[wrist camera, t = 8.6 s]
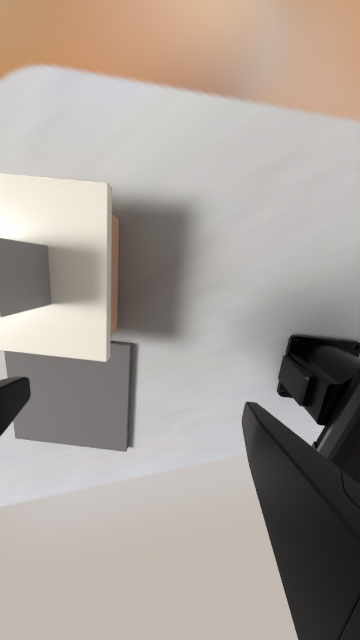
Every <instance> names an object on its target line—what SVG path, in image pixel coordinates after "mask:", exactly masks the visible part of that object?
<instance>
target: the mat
mask: <svg viewBox="0 0 360 640" xmlns="http://www.w3.org/2000/svg"><path fill="white" fill-rule="evenodd" d="M131 347H132V343H123V342H114V341H110V358H109V359H108V360H107V362H103V361H94V360H85V359H76V358H67V357H58V356H49V355H40V354H31V353H22V352H13V351H4V352H5V360H6V368H7V376H8V378H10V377H14V376H25V377H28V378H29V380H30V390H31V396H30V399H29V401H28V402H27V403H26V405H25V406H24V407H23V408H22V410H21V411H20V412H19V414H18V415H17V416H16V417H15V419H14V420H13V422H14V430H15V438H18V439H26V440H34V441H42V442H50V443H59V444H67V445H75V446H83V447H92V448H100V449H108V450H116V451H124V452H126V451H127V448H128V427H129V400H130V374H131Z"/></svg>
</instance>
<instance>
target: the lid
mask: <svg viewBox="0 0 360 640" xmlns="http://www.w3.org/2000/svg"><path fill="white" fill-rule="evenodd" d="M111 242H112V187H111V186H110V185H109V184H108V183H102V182H91V181H79V180H68V179H57V178H45V177H34V176H23V175H11V174H0V350H4V351H13V352H22V353H31V354H40V355H49V356H58V357H67V358H76V359H85V360H94V361H103V362H107V360H108V359H109V358H110V333H111Z"/></svg>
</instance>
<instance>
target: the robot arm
mask: <svg viewBox="0 0 360 640" xmlns="http://www.w3.org/2000/svg"><path fill="white" fill-rule="evenodd" d="M294 339H297V341H296V342H294ZM354 345H356V346H355V347H354ZM353 347H354V348H353ZM359 354H360V343H359V342H357V341H351V340H342V339H332V338H323V337H313V336H303V335H292V336H291V337H290V338H289V342H288V346H287V350H286V354H285V355H284V356H283V360H282V364H281V368H280V372H279V376H278V379H279V383H278V387H277V392H278V394H279V395H280V396H282V397H289V398H294V399H295V401H296V402H297V403H298V404H299V405H300V406H303V407H304V408H305V409H306V410H307V412H308V413H309V414H310V415H311V416H312V418H313V419H314V420H315V421H316V423H317V424H318V425H323V426H325V427H324V429H323V431H322V432H321V434H320V436H319V438H318V439H317V441H316V442H314V443H313V444H312V446H310V445H309V444H308V443H307V442H305V441H304V440H303V439H302V438H300V437H299V436H298V435H297V434H295V433H294V432H293V431H292V430H290V429H289V428H288V427H286V426H285V425H284V424H283V423H281V422H280V421H279V420H278V419H276V418H275V417H274V416H273V415H271V414H270V413H269V412H267V411H266V410H265V409H264V408H262V407H261V406H260V405H259V404H257V403H255V402H246V403H245V406H244V411H243V416H242V428H243V434H244V440H245V445H246V451H247V457H248V462H249V466H250V470H251V474H252V478H253V481H254V485H255V488H256V492H257V495H258V499H259V502H260V506H261V509H262V513H263V516H264V520H265V523H266V527H267V531H268V534H269V538H270V541H271V545H272V548H273V552H274V555H275V559H276V562H277V566H278V569H279V573H280V577H281V580H282V583H283V587H284V590H285V594H286V598H287V601H288V605H289V608H290V611H291V615H292V619H293V622H294V626H295V630H296V633H297V637H298V640H360V358H358V357H359ZM283 390H284V392H281V391H283ZM30 396H31V390H30V380H29V378H28V377H25V376H14V377H10V378H7V379H3V380H0V436H1V435H2V434H3V433H4V431H5V430H6V429H7V428H8V426H9V425H10V424H11V422H12V421H13V420H14V419H15V417H16V416H17V415H18V414H19V412H20V411H21V410H22V408H23V407H24V406H25V405H26V403H27V402H28V401H29V399H30Z"/></svg>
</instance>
